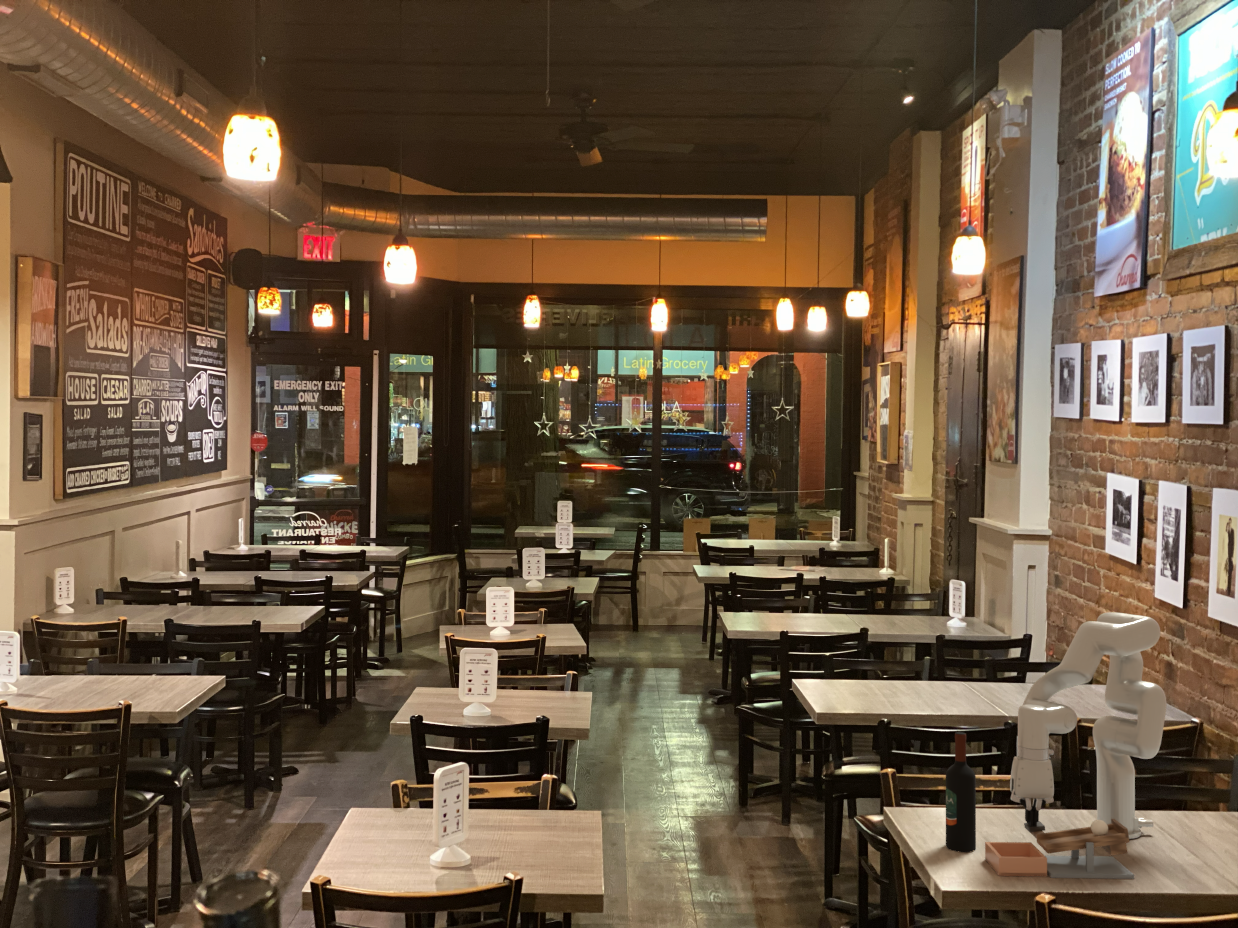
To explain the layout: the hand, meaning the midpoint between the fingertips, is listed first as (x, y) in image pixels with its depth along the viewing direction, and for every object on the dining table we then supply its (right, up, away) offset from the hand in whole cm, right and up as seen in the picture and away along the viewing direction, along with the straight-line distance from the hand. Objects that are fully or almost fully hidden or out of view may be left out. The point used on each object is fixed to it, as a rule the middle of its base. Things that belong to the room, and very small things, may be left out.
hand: (1031, 824), depth 289 cm
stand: (+8, -8, -11) cm, 16 cm away
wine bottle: (-17, -8, +5) cm, 19 cm away
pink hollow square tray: (-8, -7, -11) cm, 15 cm away
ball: (+13, +3, -11) cm, 17 cm away
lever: (+9, -4, -7) cm, 12 cm away
